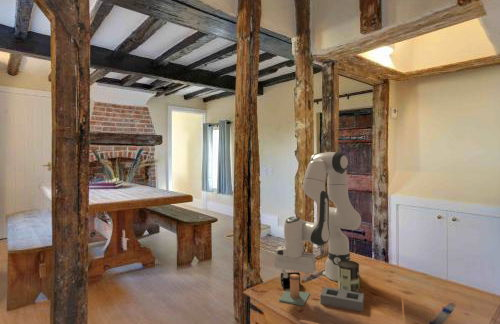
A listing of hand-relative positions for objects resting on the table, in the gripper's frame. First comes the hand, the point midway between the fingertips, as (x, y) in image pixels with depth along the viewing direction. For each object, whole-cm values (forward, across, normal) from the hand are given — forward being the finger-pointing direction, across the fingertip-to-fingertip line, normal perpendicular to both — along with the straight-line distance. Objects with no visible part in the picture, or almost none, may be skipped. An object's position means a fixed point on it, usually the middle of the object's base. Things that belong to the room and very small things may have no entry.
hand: (295, 278), depth 141 cm
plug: (+8, 0, +1) cm, 8 cm away
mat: (+9, 0, 0) cm, 9 cm away
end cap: (+10, +6, -12) cm, 16 cm away
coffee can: (+10, -23, -16) cm, 30 cm away
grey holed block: (+9, -22, -2) cm, 24 cm away
